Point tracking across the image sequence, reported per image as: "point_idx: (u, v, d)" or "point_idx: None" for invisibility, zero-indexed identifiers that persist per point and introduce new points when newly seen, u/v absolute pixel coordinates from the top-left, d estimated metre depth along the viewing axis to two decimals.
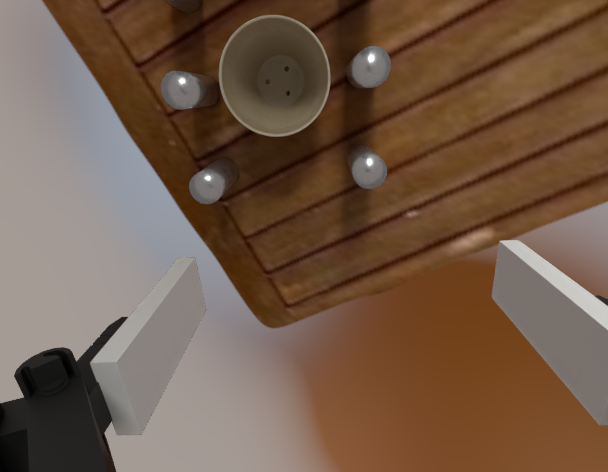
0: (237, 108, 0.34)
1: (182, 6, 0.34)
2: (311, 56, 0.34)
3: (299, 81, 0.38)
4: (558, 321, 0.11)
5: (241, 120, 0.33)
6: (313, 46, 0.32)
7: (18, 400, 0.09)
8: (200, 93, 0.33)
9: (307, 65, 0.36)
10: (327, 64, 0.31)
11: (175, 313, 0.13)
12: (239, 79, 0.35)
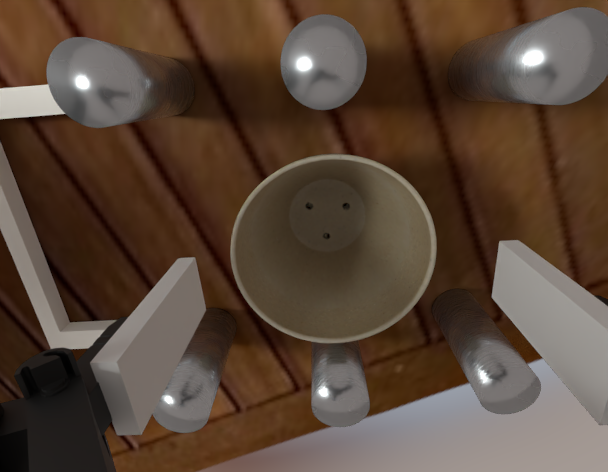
0: (370, 309, 0.20)
1: (228, 345, 0.25)
2: (293, 174, 0.20)
3: (328, 186, 0.23)
4: (558, 321, 0.11)
5: (396, 316, 0.18)
6: (278, 178, 0.18)
7: (18, 400, 0.09)
8: (346, 369, 0.20)
9: (306, 177, 0.21)
10: (311, 160, 0.16)
11: (175, 313, 0.13)
12: (323, 289, 0.22)
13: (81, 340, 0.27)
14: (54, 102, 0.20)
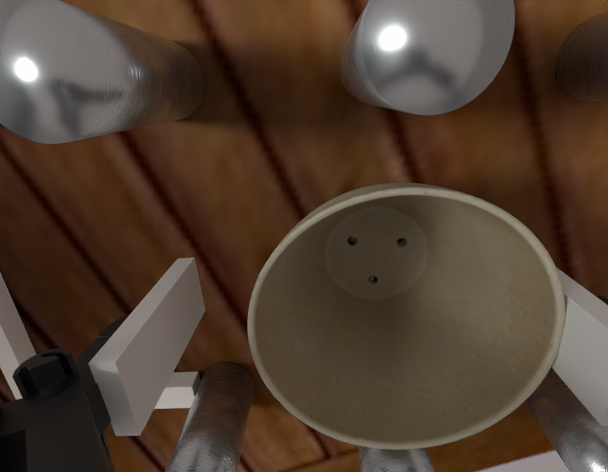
0: (442, 396, 0.14)
1: (245, 416, 0.19)
2: None
3: (380, 216, 0.17)
4: None
5: (487, 420, 0.13)
6: None
7: (17, 401, 0.09)
8: None
9: (352, 205, 0.15)
10: (379, 195, 0.10)
11: (174, 313, 0.13)
12: (371, 356, 0.16)
13: None
14: None
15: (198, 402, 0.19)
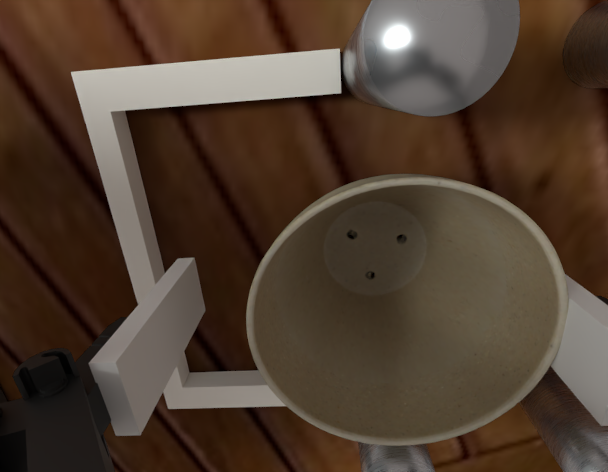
0: (436, 394, 0.14)
1: None
2: None
3: (381, 211, 0.17)
4: None
5: (482, 418, 0.12)
6: None
7: (17, 401, 0.09)
8: None
9: (355, 198, 0.15)
10: (391, 184, 0.10)
11: (174, 313, 0.13)
12: (365, 352, 0.16)
13: (209, 398, 0.21)
14: (227, 84, 0.14)
15: None
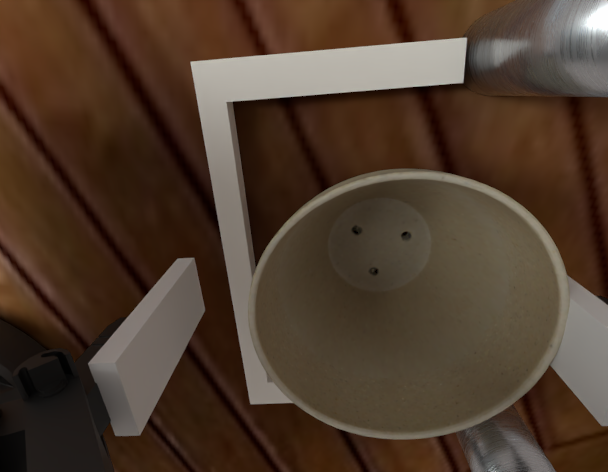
0: (435, 390, 0.14)
1: None
2: None
3: (387, 208, 0.17)
4: None
5: (479, 416, 0.13)
6: None
7: (16, 401, 0.09)
8: None
9: (361, 193, 0.15)
10: (395, 177, 0.10)
11: (174, 313, 0.13)
12: (366, 347, 0.16)
13: None
14: (348, 74, 0.14)
15: None
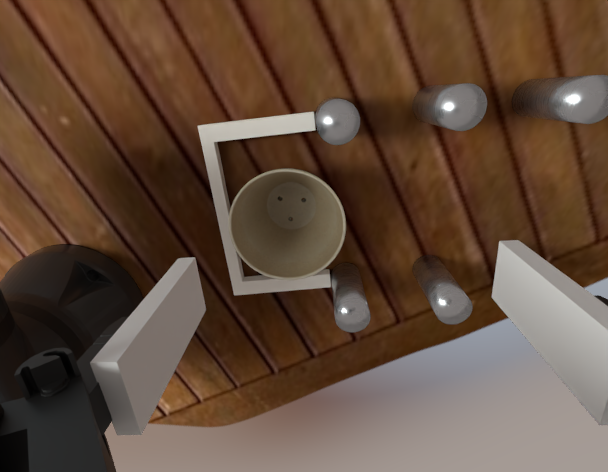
0: (311, 262, 0.33)
1: (362, 284, 0.37)
2: (268, 178, 0.32)
3: (292, 187, 0.36)
4: (558, 321, 0.11)
5: (324, 265, 0.31)
6: (259, 180, 0.31)
7: (18, 400, 0.09)
8: (455, 287, 0.32)
9: (277, 180, 0.34)
10: (276, 171, 0.28)
11: (175, 313, 0.13)
12: (285, 251, 0.35)
13: (256, 287, 0.39)
14: (265, 128, 0.33)
15: (339, 276, 0.37)
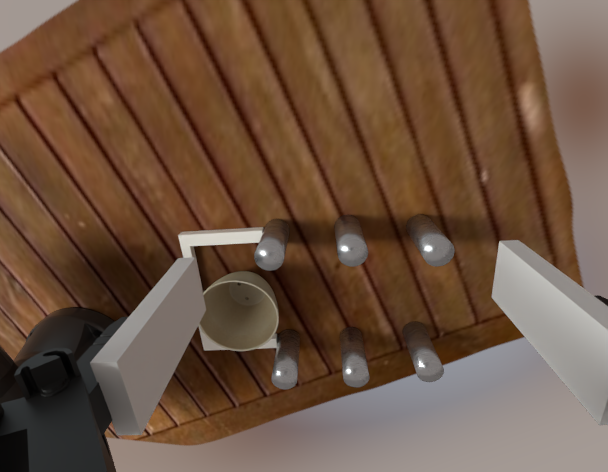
0: (257, 337, 0.46)
1: (298, 349, 0.49)
2: None
3: None
4: (558, 321, 0.11)
5: (264, 342, 0.44)
6: None
7: (18, 400, 0.09)
8: (358, 361, 0.45)
9: None
10: (229, 281, 0.41)
11: (175, 313, 0.13)
12: (240, 325, 0.48)
13: None
14: (227, 239, 0.45)
15: (281, 343, 0.49)
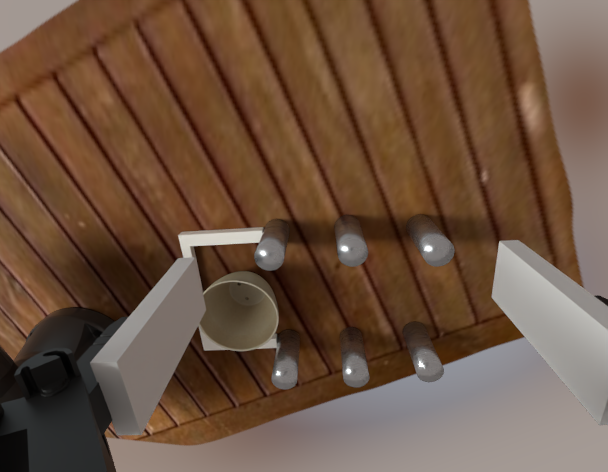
0: (257, 337, 0.45)
1: (298, 349, 0.49)
2: None
3: None
4: (558, 321, 0.11)
5: (264, 342, 0.44)
6: None
7: (18, 400, 0.09)
8: (358, 361, 0.45)
9: None
10: (229, 281, 0.41)
11: (175, 313, 0.13)
12: (240, 325, 0.48)
13: None
14: (227, 239, 0.45)
15: (281, 343, 0.49)
